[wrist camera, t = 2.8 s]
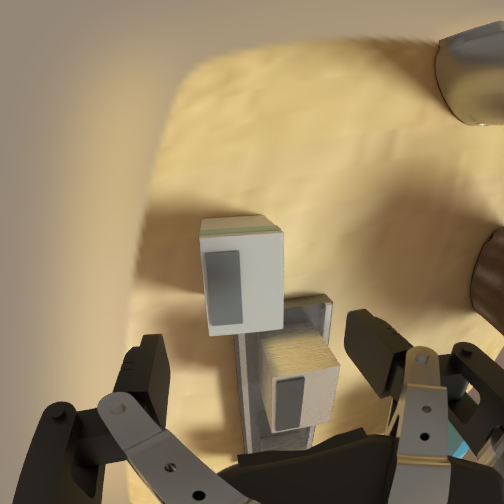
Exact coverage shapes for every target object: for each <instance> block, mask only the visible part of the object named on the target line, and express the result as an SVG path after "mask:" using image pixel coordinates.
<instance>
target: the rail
mask: <svg viewBox="0 0 504 504" xmlns="http://www.w3.org/2000/svg"><path fill="white" fill-rule="evenodd" d="M332 306H333V302H332V301H331V299H330V298H329V297H328V296H327V295H318V296H310V297H301V298H293V299H284V312H283V329H278V330H270V331H261V332H252V333H242V334H234V343H235V356H236V367H237V379H238V390H239V401H240V411H241V421H242V431H243V441H244V450H245V454H249V453H256V452H263V451H269V450H279V451H293V450H307V449H309V448H311V446H312V441H313V436H314V431H315V426H316V425H318V424H322V423H326V422H329V419H330V415H331V411H332V406H333V401H334V397H335V392H336V387H337V382H338V376H339V371H340V364H339V362H338V361H337V359H336V358H335V356H334V355H333V353H332V351H331V350H330V348H329V347H328V343H329V335H330V326H331V316H332Z"/></svg>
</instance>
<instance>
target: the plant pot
mask: <svg viewBox="0 0 504 504" xmlns="http://www.w3.org/2000/svg"><path fill="white" fill-rule="evenodd" d="M470 298H471V299H472V302H473V309H474V310H475V311H476V312H477V313H478V314H479V315H481V316H482V317H483V318H484V319H485V320H487V321H488V322H489V323H490V324H491V325H492V326H493V327H494V328H496V329H497V330H498V331H499V332H500V333H501V334H502V335H503V336H504V228H500V229H498V230H496V231H495V232H494V233H493V238H492V239H491V240H490V241H489V242H487V243H485V245H484V247H483V248H482V251H481V253H480V255H479V258H478V260H477V263H476V266H475V269H474V273H473V277H472V282H471V288H470Z"/></svg>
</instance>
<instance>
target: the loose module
mask: <svg viewBox="0 0 504 504" xmlns="http://www.w3.org/2000/svg"><path fill="white" fill-rule="evenodd" d="M199 241H200V253H201V264H202V274H203V284H204V294H205V303H206V312H207V320H208V329H209V336H220V335H232V334H242V333H252V332H261V331H270V330H278V329H283V312H284V232H282V231H281V229H280V228H279V227H278V226H277V225H274V224H273V223H272V222H271V221H270V220H269V219H268V218H266V217H265V216H264V215H254V216H237V217H222V218H207V219H202V222H201V229H200V232H199Z"/></svg>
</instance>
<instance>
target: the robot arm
mask: <svg viewBox="0 0 504 504" xmlns="http://www.w3.org/2000/svg"><path fill="white" fill-rule="evenodd" d="M439 45H440V49H439V52H438V53H437V56H436V61H435V69H436V76H437V80H438V84H439V87H440V89H441V92H442V95H443V97H444V99H445V101H446V103H447V104H448V106H449V107H450V109H451V110H452V112H453V113H454V114H455V115H456V116H457V118H459V119H460V120H461V121H462V122H464V123H466V124H468V125H472V126H475V125H481V126H489V125H504V22H503V21H497V22H493V23H490V24H486V25H483V26H480V27H477V28H473V29H470V30H467V31H464V32H461V33H458V34H455V35H453V36H450V37H447V38H445V39H442V40H439ZM344 347H345V351H346V353H347V355H348V356H349V357H350V359H351V360H352V361H353V363H354V364H355V365H356V367H357V368H358V369H359V371H360V372H361V373H362V375H363V376H364V377H365V379H366V380H367V381H368V383H369V384H370V385H371V387H372V388H373V389H374V391H375V392H376V393H377V395H378V396H379V397H380V399H382V398H385V397H387V396H390V395H391V396H392V397H393V398H392V401H391V404H390V410H389V415H388V420H387V425H386V430H385V434H384V435H379V434H369V435H366V433H365V431H364V430H363V428H359V429H355V430H352V431H349V432H346V433H343V434H339V435H336V436H333V437H331V438H329V439H327V440H326V441H324V442H322V443H320V444H318V445H316V446H313V447H311V448H309V449H307V450H293V451H279V450H269V451H263V452H256V453H249V454H241V455H237V457H238V464H235V465H232V466H230V467H228V468H225V469H223V470H222V471H220V472H218V473H217V474H216V473H215V472H214V471H212V470H211V469H210V468H209V467H208V466H206V465H205V464H204V463H203V462H202V461H201V460H200V459H199V458H197V457H196V456H195V455H194V454H193V453H192V452H191V451H190V450H189V449H188V448H187V447H186V446H185V445H184V444H182V443H181V442H180V441H179V440H178V439H177V438H176V437H175V436H174V435H173V434H172V433H171V432H170V431H169V430H168V429H165V427H166V415H167V405H168V395H169V385H170V366H169V361H168V357H167V353H166V349H165V344H164V340H163V336H162V334H148V335H143V338H142V341H141V344H140V347H132V348H131V349H130V350H129V351H128V352H127V353H126V355H125V357H124V360H123V364H122V366H121V370H120V372H119V375H118V377H117V380H116V383H115V386H114V389H113V392H112V393H110V394H108V395H106V396H105V397H103V398H102V399H101V400H100V401H99V403H98V406H97V408H94V409H89V410H83V411H76V409H75V408H74V406H73V405H72V404H70V403H68V402H56V403H53V404H51V405H49V406H48V407H47V408H46V409H45V410H44V412H43V414H42V417H41V419H40V421H39V424H38V426H37V429H36V431H35V434H34V436H33V439H32V442H31V444H30V447H29V450H28V453H27V456H26V459H25V461H24V464H23V468H22V471H21V474H20V477H19V481H18V484H17V488H16V491H15V495H14V499H13V503H12V504H101V501H102V491H103V482H104V473H105V466H106V464H108V463H113V462H119V461H124V460H127V461H128V463H129V464H130V465H131V467H132V468H133V469H134V471H135V472H136V473H137V475H138V476H139V477H140V478H141V480H142V481H143V482H144V483H145V485H146V486H147V487H148V488H149V489H150V491H151V492H152V493H153V494H154V495H155V497H156V498H157V499H158V500H159V501H160V503H161V504H504V369H502V368H501V367H500V366H499V365H498V364H497V363H495V362H494V361H493V360H492V359H491V358H490V357H489V356H487V355H486V354H485V353H484V352H483V351H482V350H480V349H479V348H478V347H477V346H475V345H474V344H471V343H468V342H459V343H456V344H455V345H454V346H453V349H452V352H451V354H446V355H437V353H436V352H435V351H434V350H432V349H430V348H428V347H423V346H416V347H413V346H412V345H411V344H410V343H409V342H408V341H407V340H406V339H405V338H404V337H402V336H401V335H400V334H399V333H397V331H396V330H395V329H394V328H392V327H391V326H390V325H389V324H388V323H387V322H386V321H384V320H382V319H379V318H377V317H374V316H373V315H372V314H371V313H370V312H368V311H367V310H366V309H360V310H355V311H350V312H348V314H347V320H346V329H345V337H344ZM469 383H470V384H471V385H472V386H473V387H474V388H475V389H476V390H477V391H478V392H479V394H480V398H481V399H480V403H479V405H477V404H476V403H475V402H474V401H473V400H472V398H471V397H470V396H469V395H468V394H467V393H466V392H465V391H466V388H467V386H468V384H469ZM448 420H449V422H450V423H451V424H452V425H453V427H454V428H455V429H456V431H457V432H458V433H459V434H460V436H461V437H462V438H463V440H464V441H465V442H466V444H467V445H468V446H469V448H470V449H471V450H472V452H473V453H474V454H475V456H476V457H477V463H475V462H471V461H467V460H464V459H460V458H456V457H453V456H450V455H447V452H448Z"/></svg>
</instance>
